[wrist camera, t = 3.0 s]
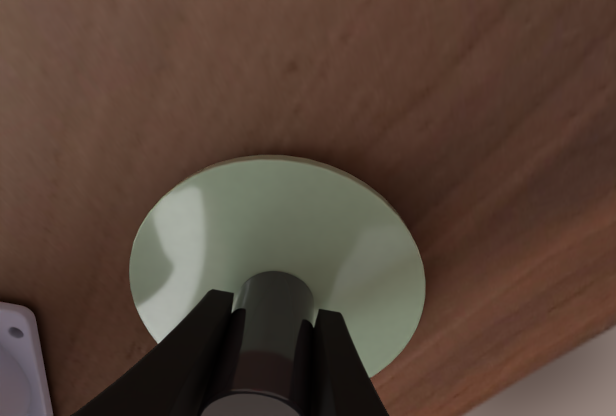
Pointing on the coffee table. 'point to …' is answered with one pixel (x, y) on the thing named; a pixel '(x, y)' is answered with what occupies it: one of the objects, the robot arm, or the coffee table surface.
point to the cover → (278, 274)
